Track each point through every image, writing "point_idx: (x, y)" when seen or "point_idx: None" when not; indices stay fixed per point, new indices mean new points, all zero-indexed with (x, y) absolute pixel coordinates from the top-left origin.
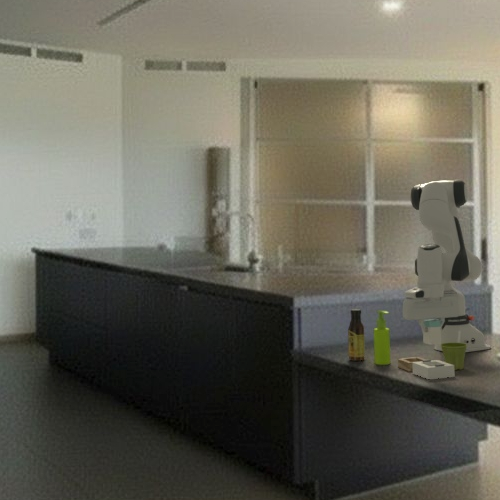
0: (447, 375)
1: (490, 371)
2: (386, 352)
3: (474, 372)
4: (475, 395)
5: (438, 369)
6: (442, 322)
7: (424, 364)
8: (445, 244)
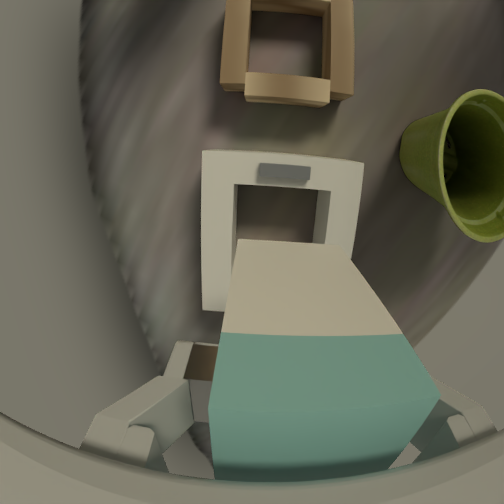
0: None
1: (471, 267)
2: None
3: (433, 256)
4: None
5: None
6: (419, 446)
7: (229, 235)
8: None
